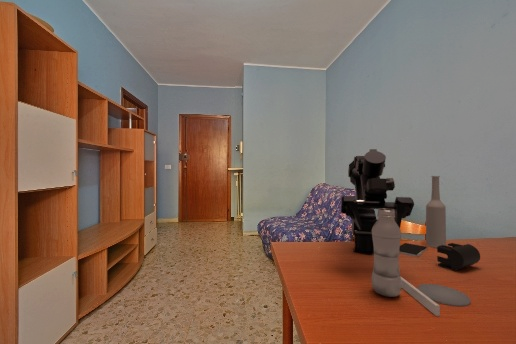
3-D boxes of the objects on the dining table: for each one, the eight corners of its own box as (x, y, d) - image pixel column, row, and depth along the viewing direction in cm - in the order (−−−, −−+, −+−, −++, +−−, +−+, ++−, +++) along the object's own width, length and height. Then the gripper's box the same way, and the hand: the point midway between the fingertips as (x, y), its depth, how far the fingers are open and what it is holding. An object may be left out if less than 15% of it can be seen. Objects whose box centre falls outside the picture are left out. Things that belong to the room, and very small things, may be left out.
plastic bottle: (398, 289, 61) (398, 208, 61) (405, 303, 54) (404, 212, 54) (369, 285, 63) (369, 207, 63) (372, 298, 56) (372, 210, 56)
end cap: (463, 274, 70) (463, 250, 70) (436, 266, 77) (436, 244, 77) (480, 268, 75) (480, 246, 75) (453, 261, 81) (453, 240, 81)
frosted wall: (439, 315, 49) (439, 305, 49) (435, 315, 49) (435, 305, 49) (393, 278, 67) (393, 270, 67) (390, 278, 67) (390, 270, 67)
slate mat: (416, 297, 57) (416, 295, 57) (417, 282, 65) (417, 280, 65) (473, 311, 51) (473, 309, 51) (467, 292, 59) (467, 290, 59)
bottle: (444, 245, 100) (444, 176, 100) (447, 249, 94) (447, 176, 94) (424, 243, 103) (424, 175, 103) (426, 247, 97) (426, 175, 97)
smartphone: (428, 246, 95) (417, 255, 85) (428, 250, 95) (417, 258, 85) (404, 242, 101) (392, 249, 91) (404, 245, 101) (392, 253, 91)
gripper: (341, 168, 74) (344, 210, 63) (411, 168, 69) (427, 214, 58) (339, 193, 81) (342, 234, 70) (403, 194, 76) (416, 239, 65)
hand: (379, 230), depth 66 cm, fingers open, 9 cm apart
